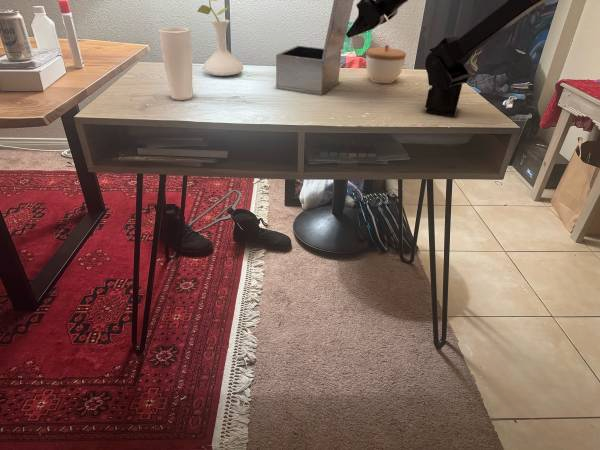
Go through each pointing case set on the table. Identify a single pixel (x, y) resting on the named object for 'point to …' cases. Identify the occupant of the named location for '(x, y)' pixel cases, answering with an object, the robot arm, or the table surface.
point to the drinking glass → (177, 60)
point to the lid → (337, 27)
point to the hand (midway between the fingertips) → (351, 34)
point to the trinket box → (384, 64)
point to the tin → (307, 70)
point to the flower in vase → (220, 49)
